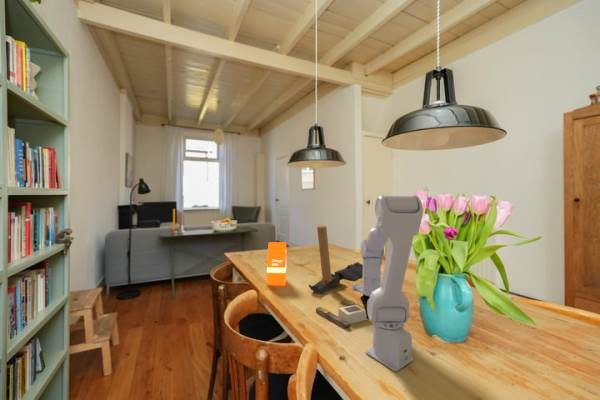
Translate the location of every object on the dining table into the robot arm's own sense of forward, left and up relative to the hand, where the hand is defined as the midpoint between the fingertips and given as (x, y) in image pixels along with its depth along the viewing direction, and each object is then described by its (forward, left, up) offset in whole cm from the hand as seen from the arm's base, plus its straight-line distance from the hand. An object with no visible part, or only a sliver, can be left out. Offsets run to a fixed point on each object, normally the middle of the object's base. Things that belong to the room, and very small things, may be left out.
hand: (370, 318), depth 85 cm
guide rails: (+11, 0, -3) cm, 12 cm away
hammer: (+35, -12, -3) cm, 37 cm away
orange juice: (+55, +3, -3) cm, 55 cm away
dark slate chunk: (+43, -39, -4) cm, 59 cm away
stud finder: (+8, 0, -3) cm, 9 cm away
